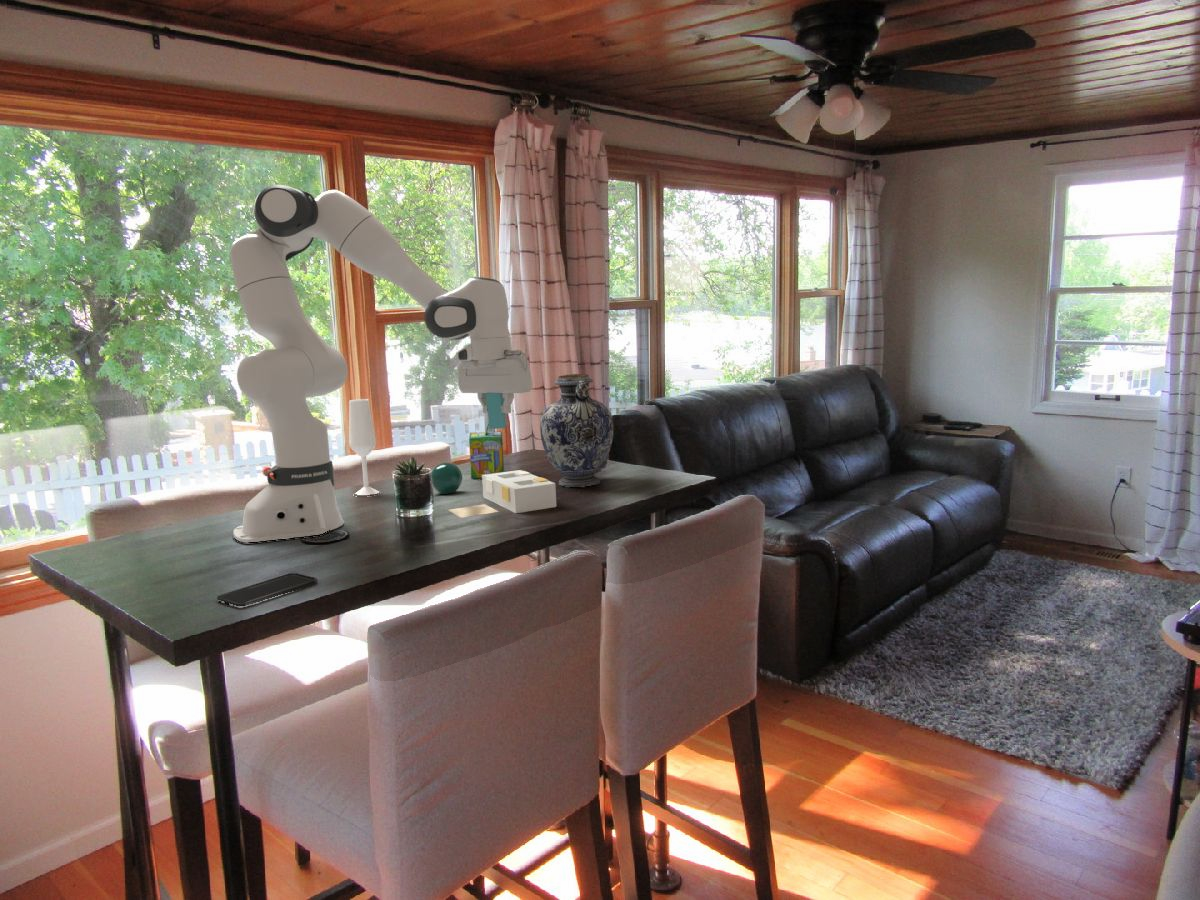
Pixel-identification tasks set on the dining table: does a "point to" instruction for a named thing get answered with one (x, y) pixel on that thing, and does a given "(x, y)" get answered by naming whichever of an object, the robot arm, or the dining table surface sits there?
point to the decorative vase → (577, 432)
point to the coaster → (473, 511)
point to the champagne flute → (362, 437)
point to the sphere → (446, 478)
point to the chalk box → (486, 453)
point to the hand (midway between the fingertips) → (497, 413)
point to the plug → (496, 411)
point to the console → (519, 491)
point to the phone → (268, 589)
